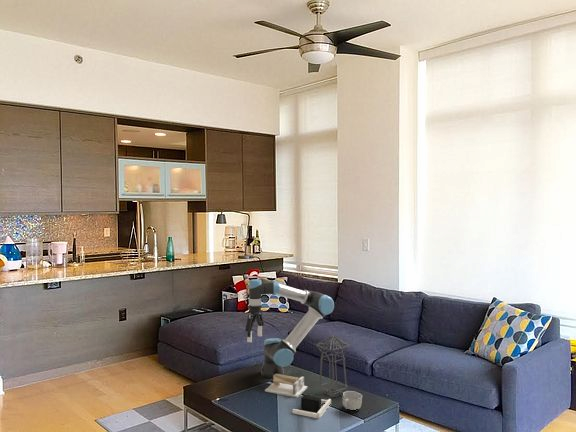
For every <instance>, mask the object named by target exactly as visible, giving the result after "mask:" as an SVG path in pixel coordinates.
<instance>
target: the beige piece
mask: <svg viewBox="0 0 576 432" xmlns="http://www.w3.org/2000/svg"><path fill="white" fill-rule="evenodd" d="M272 379H273V380H272V381H273V383H272V384H273V387H279V386H280V383H283V384H289V385H293V394H294V395H295V394H296V393H298V392H299V391H300V390H301V389H302V388H303V387H304V386H305V376H300V377H297V376H292V375H291V376H290V375H285V374H284V375H281V374H274V375H273V378H272Z"/></svg>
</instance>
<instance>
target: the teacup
mask: <svg viewBox="0 0 576 432" xmlns="http://www.w3.org/2000/svg"><path fill="white" fill-rule="evenodd" d="M362 402H363V394H361V393H359V392H357V391H355V390H354V391H353V390H346V391H343V395H342V402H341V403H342V406H343V407H344V408H345V409H346V410H347V409H350V410H356V409H358V410H359V409H361V407H362ZM356 411H357V410H356Z"/></svg>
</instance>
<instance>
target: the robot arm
mask: <svg viewBox="0 0 576 432" xmlns="http://www.w3.org/2000/svg"><path fill="white" fill-rule="evenodd" d="M262 295H264V296H265V295H276V296H280V297H283V298H287V299H291V300H294V301H297V302H300V303H301V304H302V305H305V306H308V311H307V312H306V313H305V314H304V316H303V317H302V319H300V320H299V322H298V323H297V324H296V326H294V328H293V329H292V330H291V332H290V333H289V334H288V336H287V337H286V338H284V339H281V338H278V337H276V338H273V337H270V338H267V339H264V341H263V363H262V367H261V369H260V375H261V376H262V377H265V378H271V379H273V375H274V374H281V375H285V370H284V368H286V367H288V366H290V365H291V364H292V363H293V361H294V355H295V354H296V353H297V351H296V350H297V347H298V346H299V344H301V342H302V341H303V340H304V338H305V337H306V336H307V335H308V333H309V332H310V331H311V330H312V329H313V327H314V326H315V324H316V323H317V322H318V321H319V320H320V319H321V320H322V319H323V318H325V316H327V315H330V314H332V312H333V311H334V309H335V302H334V300H333V298H332V297H331V296H329V295H327V294H323V293H321V292H318V291H312V290H308V289H304V290H303V289H298V288H295V287H292V286H290V285H286V284H284V283H283V284H282V283H279V282H278V281H273V280H272V281H271V280H268V279H265V278H263V277H259V278H257V279H255V278H254V279H250V280H249V282H248V311H249V312H250V314H247V319H246V320H247V321H246V325H245V329H244V330H245V332H246V339H247V340H246V342H247V343H252V342H253V331H252V330H253V326H254V323H257V337H263V327H264V324H265V323H264V317H263V314H262Z"/></svg>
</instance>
